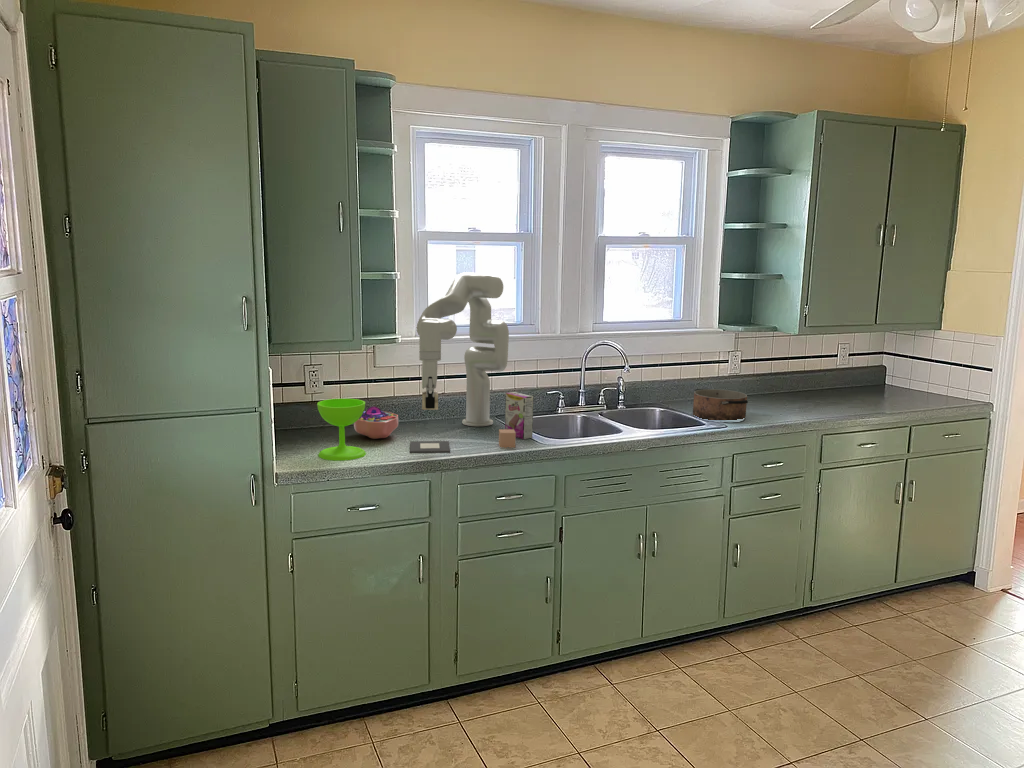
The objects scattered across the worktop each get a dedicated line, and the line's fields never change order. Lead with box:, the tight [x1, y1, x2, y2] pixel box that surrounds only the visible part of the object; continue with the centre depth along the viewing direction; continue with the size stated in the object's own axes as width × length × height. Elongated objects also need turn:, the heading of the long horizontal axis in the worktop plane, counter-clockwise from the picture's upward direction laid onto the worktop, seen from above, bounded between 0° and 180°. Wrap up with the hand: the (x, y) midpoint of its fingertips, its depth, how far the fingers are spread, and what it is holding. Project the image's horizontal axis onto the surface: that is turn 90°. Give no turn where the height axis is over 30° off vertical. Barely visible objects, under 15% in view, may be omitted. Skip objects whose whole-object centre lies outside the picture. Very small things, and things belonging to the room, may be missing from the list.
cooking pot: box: [692, 388, 749, 420], centre depth 338 cm, size 30×22×11 cm
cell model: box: [353, 405, 399, 440], centre depth 290 cm, size 17×20×11 cm
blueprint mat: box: [409, 440, 451, 454], centre depth 277 cm, size 14×14×1 cm
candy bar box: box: [504, 391, 534, 440], centre depth 296 cm, size 11×5×16 cm, turn 41°
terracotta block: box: [498, 428, 517, 449], centre depth 282 cm, size 6×6×6 cm
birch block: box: [421, 390, 439, 411], centre depth 274 cm, size 6×6×6 cm
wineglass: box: [316, 398, 367, 462], centre depth 264 cm, size 16×16×18 cm
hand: (429, 405), depth 275 cm, fingers closed on birch block, 5 cm apart
